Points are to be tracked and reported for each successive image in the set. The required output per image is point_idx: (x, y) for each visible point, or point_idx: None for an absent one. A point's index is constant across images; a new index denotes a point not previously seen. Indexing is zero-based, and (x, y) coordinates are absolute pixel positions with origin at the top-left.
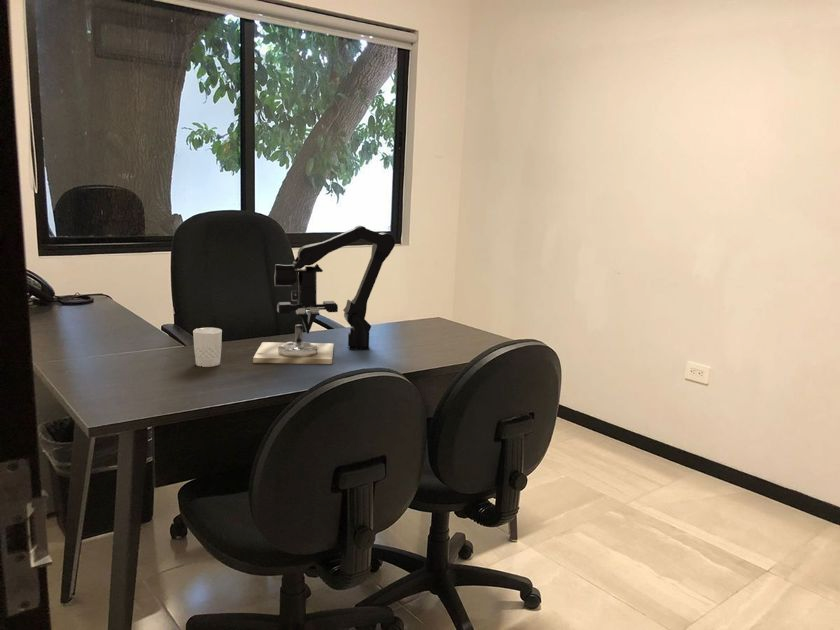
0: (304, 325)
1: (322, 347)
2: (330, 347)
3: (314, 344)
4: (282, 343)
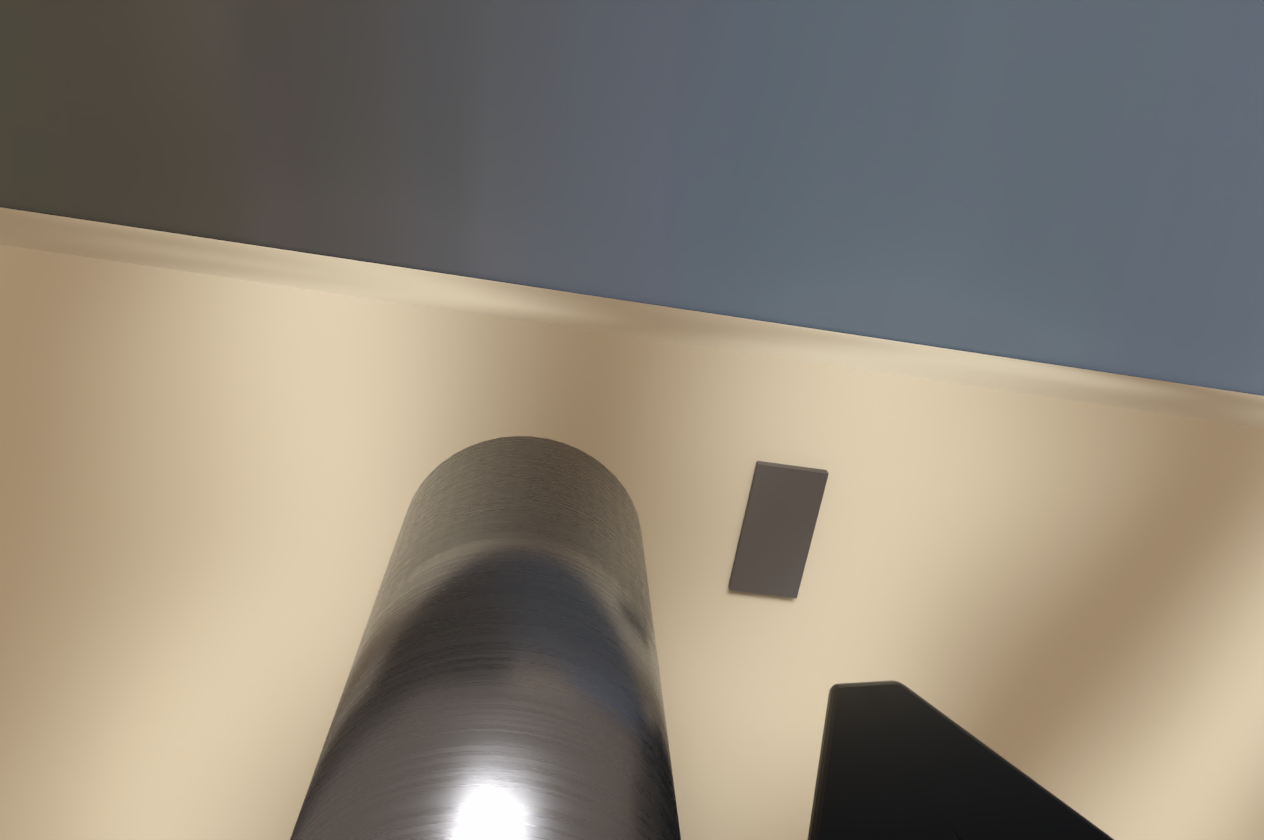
0: None
1: None
2: (1258, 834)
3: (961, 546)
4: (26, 377)
